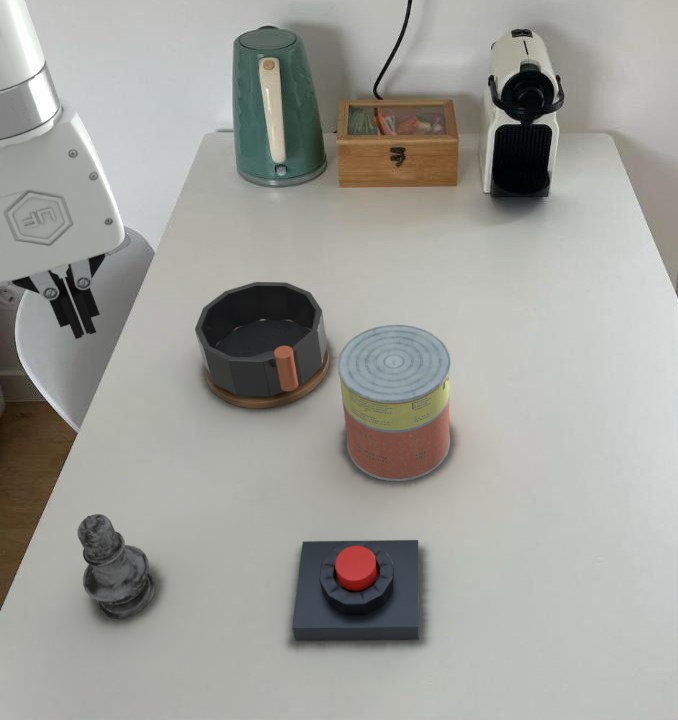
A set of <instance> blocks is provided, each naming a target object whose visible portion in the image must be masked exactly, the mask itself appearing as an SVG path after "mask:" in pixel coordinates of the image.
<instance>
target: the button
mask: <svg viewBox="0 0 678 720" xmlns="http://www.w3.org/2000/svg"><path fill="white" fill-rule="evenodd" d="M335 569H336V575H337V579H338V582H339V583H340V584H341V586H343V587H344V588H346V589H348V590H351V591H360V590H363V589H366V588H367V587H369V586H370V585H371V584H372V583H373V582H374V580H375V578H376V575H377V569H376V560H375V556H374V555H373V553H372V552H371V551H370V550H369V549H367V548H365V547H362V546H351V547H348V548H346V549H344V550H343V551H341V552H340V553H339V555H338V556H337V558H336V561H335Z"/></svg>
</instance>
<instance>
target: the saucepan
mask: <svg viewBox="0 0 678 720" xmlns="http://www.w3.org/2000/svg"><path fill="white" fill-rule="evenodd" d="M260 320H262V321H260ZM287 320H291V321H287ZM292 321H293V322H292ZM238 327H239V328H238ZM236 328H237V329H236ZM308 328H309V329H311V330H312V331H311V330H309V329H308ZM234 329H235V330H234ZM233 330H234V331H233ZM194 332H195V335H196V339H197V344H198V346H199V350H200V353H201V358H202V361H203V365H204V368H205V367H206V369H207V371H208V373H209V375H210V378H211V380H212V382H213V383H214V384H216V385H218V386H219V387H221V388H223V389H225V390H227V391H229V392H231V393H233V394H235V395H238V396H255V397H257V396H268V397H270V396H273V395H276V394H280V393H283V392H286V391H293V390H295V389H296V388H297V387H299V386H301V385H303V384H304V383H305V382H306V381H307V380H308V379H309V378H310V377H311V376H312V375H314V374H315V373H316V372H317V371H318V370H319V369H320V368H321V367H322V365H323V361H324V356H325V351H326V347H327V346H328V344H327V343H328V342H327V335H326V328H325V321H324V313H323V309H322V307H321V306H320V305H319V303H318V301H317V300H316V298H315V297H314V296H313V294H312V293H311V292H310V291H308V290H305V289H303V288H301V287H299V286H296V285H293V284H291V283H289V282H283V281H254V282H250V283H247V284H244V285H241V286H238V287H234V288H231V289H227V290H225V291H224V292H222V293H220V295H218V296H217V297H215V298H214V299H213V300H212V301H210V302H209V303H207V304H206V305H205V306H204V307H203V308H202V309H201V312H200V315H199V318H198V320H197V322H196V325H195V327H194ZM218 342H219V343H218ZM217 343H218V345H217ZM216 345H217V346H216Z"/></svg>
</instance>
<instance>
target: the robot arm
mask: <svg viewBox="0 0 678 720" xmlns="http://www.w3.org/2000/svg"><path fill="white" fill-rule="evenodd" d="M51 75H52V74H51V71H50V69H49V66H48V63H47V61H46V57H45V55H44V52H43V48H42V45H41V42H40V40H39V37H38V34H37V32H36V28H35V25H34V23H33V20H32V17H31V14H30V11H29V8H28V5H27V3H26V0H0V288H2V287H9V286H11V285H13V286H16V287H19V288H22V289H24V290H27V291H30V292H33V293H36V294H38V295H41V297H42V298H43V299H44V300H46V301H49V304H50V306H51V309H52V310H53V313H54V316H55V318H56V320H57V323H58V325H59V327H60V328H63V327H66V326H70V329H71V331H72V334H73V337H74V339H75V340H79V339H81V338H83V336H84V335H85V334H86V335H87V334H89V335H93V334H96V333H97V330H96V327H95V325H94V322H93V320H92V318H94V317H97V316H100V310H99V308H98V305H97V303H96V300H95V298H94V295H93V292H92V289H91V288H92V285H93V278H94V276H95V274H96V273H97V272H98V270H99V269H100V266H101V265H102V263H103V262H104V261H105V258H106V257H108V256H112V255H113V254H116V253H117V252H119V251H121V250H123V249H125V248H127V247H128V246H130V244H131V241H132V240H131V239H132V238H131V237H130V235H129V233H128V231H127V229H126V228H125V226H124V223H123V220H122V217H121V213H120V210H119V207H118V204H117V201H116V199H115V196H114V194H113V190H112V187H111V185H110V182H109V180H108V177H107V174H106V172H105V169H104V167H103V164H102V162H101V159H100V156H99V154H98V152H97V150H96V147H95V145H94V143H93V140H92V138H91V137H90V135H89V132H88V130H87V128H86V127H85V125H84V123H83V121H82V119H81V117H80V115H79V114H78V112H77V111H76V109H75V108H74V107H73V105H72V104H71V103H70V102H69V101H68V100H66V99H64V98H62V97H59V96H58V93H57V89H56V87H55V84H54V81H53V79H52V76H51ZM65 266H67V267H68V268H67V269H66V270H65V276H64V278H63V277H61V278H60V276H59V274H57V273H56V272H55V273H54V272H53V270H54V269H58V268H61V267H65ZM64 279H65V281H64ZM65 282H66V283H65ZM66 284H67V285H66ZM67 288H68V289H67ZM68 290H69V291H68ZM70 295H71V296H70ZM71 298H72V299H71ZM74 306H75V307H74ZM78 315H79V316H78ZM79 318H80V319H79ZM81 323H82V324H81ZM84 331H85V332H84Z"/></svg>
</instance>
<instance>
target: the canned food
mask: <svg viewBox="0 0 678 720" xmlns="http://www.w3.org/2000/svg"><path fill="white" fill-rule="evenodd" d="M450 369H451V356H450V352H449V349H448V348H447V346H446V344H445V343H444V342H443V341H442V340H441V339H440V338H439V337H438V336H436V335H435V334H434V333H432V332H430V331H427V330H425V329H423V328H421V327H416V326H414V325H413V326H412V325H407V324H406V325H405V324H388V325H387V324H386V325H380V326H376V327H373V328H370V329H367V330H365V331H363V332H361V333H359V334H357V335H356V336H353V337H352V338H351V339H349V341H348V342H347V343H345V345H344V346H343V348H342V349H341V350H340V353H339V355H338V359H337V373H338V376H339V383H340V392H341V400H342V407H343V413H344V416H343V417H344V424H345V431H346V439H347V440H346V445H347V446H346V448H347V452H348V455H349V457H350V459H351V461H352V463H353V464H355V466H356V467H357V468H358V469H359V470H361V471H362V472H363V473H364V474H366V475H368V476H370V477H372V478H375V479H378V480H382V481H386V482H407V481H413V480H416V479H419V478H422V477H424V476H426V475H428V474H430V473H432V472H433V471H435V469H437V468H438V467H439V466H440V465H441V464H442V463H443V462H444V461H445V459H446V457H447V455H448V453H449V451H450V448H451V447H450V446H451V436H450V435H451V434H450Z"/></svg>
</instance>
